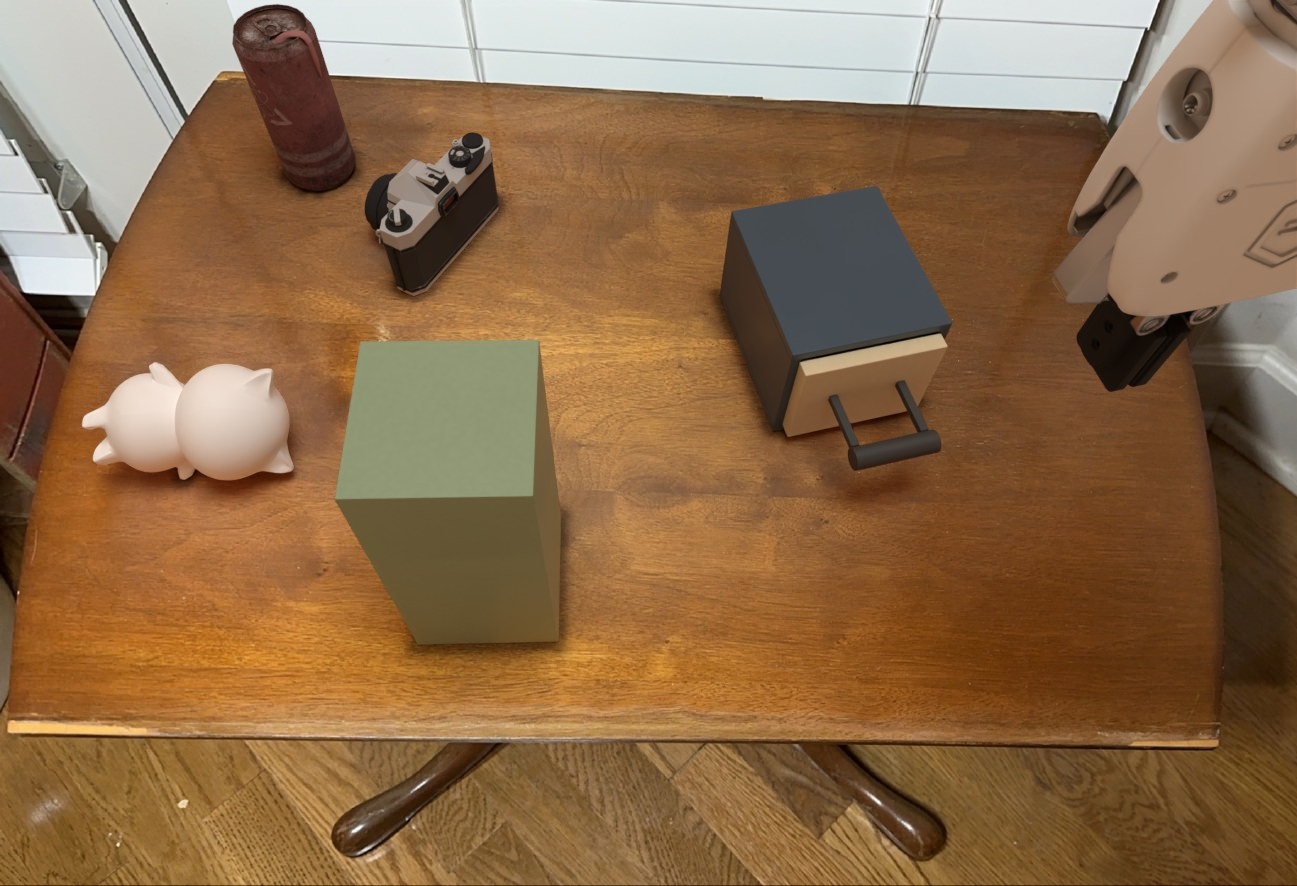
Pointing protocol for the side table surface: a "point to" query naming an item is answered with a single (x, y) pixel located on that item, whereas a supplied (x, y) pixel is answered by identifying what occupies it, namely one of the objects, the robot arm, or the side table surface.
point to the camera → (433, 211)
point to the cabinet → (820, 286)
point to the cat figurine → (196, 423)
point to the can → (294, 95)
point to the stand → (456, 487)
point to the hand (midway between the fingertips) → (1108, 362)
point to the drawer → (868, 396)
